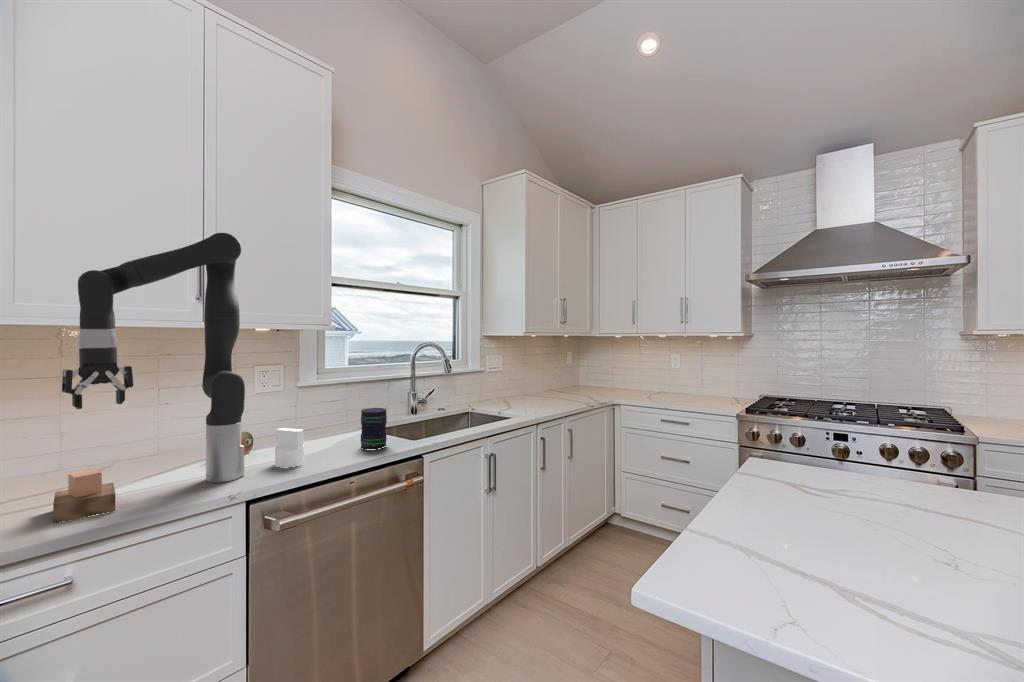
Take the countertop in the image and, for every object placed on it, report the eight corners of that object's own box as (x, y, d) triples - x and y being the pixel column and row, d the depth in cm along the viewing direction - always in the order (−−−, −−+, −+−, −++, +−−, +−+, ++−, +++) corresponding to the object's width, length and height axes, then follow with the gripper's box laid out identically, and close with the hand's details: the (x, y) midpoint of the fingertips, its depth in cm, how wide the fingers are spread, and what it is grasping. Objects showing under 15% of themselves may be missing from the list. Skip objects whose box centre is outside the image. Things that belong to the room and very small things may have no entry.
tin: (221, 462, 158) (221, 438, 158) (213, 462, 158) (213, 438, 158) (254, 451, 172) (254, 429, 172) (246, 451, 173) (247, 429, 173)
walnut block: (113, 501, 123) (113, 482, 122) (115, 513, 114) (115, 493, 114) (55, 511, 115) (55, 491, 115) (53, 525, 107) (53, 504, 107)
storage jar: (379, 443, 188) (379, 407, 188) (391, 447, 181) (391, 410, 181) (356, 447, 182) (356, 409, 181) (367, 452, 174) (367, 413, 174)
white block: (268, 467, 154) (268, 431, 153) (287, 459, 162) (288, 426, 162) (291, 469, 152) (291, 433, 151) (309, 461, 160) (309, 427, 160)
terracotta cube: (94, 487, 118) (94, 468, 118) (101, 491, 115) (101, 472, 115) (68, 493, 114) (68, 473, 114) (75, 497, 111) (74, 477, 111)
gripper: (124, 344, 130) (125, 401, 131) (56, 346, 118) (58, 409, 118) (136, 345, 127) (138, 403, 127) (68, 347, 114) (69, 411, 115)
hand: (99, 406), depth 123 cm, fingers open, 8 cm apart
